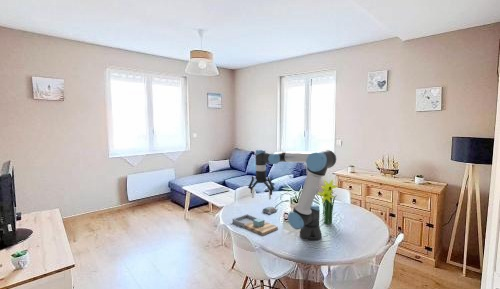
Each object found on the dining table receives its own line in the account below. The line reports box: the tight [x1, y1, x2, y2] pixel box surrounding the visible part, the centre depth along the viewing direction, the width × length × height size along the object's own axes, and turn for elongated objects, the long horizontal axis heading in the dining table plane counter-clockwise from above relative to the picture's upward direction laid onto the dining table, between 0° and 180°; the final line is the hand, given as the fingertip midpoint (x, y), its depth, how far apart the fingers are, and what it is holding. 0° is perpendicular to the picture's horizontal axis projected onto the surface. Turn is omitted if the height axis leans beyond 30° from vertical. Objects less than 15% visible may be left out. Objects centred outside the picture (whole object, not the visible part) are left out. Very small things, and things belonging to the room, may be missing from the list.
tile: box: [253, 217, 265, 227], centre depth 202 cm, size 6×6×4 cm
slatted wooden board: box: [243, 221, 279, 236], centre depth 201 cm, size 20×16×2 cm
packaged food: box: [261, 206, 279, 215], centre depth 234 cm, size 9×12×5 cm
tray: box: [232, 214, 258, 228], centre depth 213 cm, size 13×16×3 cm
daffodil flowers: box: [316, 178, 339, 226], centre depth 207 cm, size 17×15×35 cm
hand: (261, 198), depth 199 cm, fingers open, 13 cm apart
